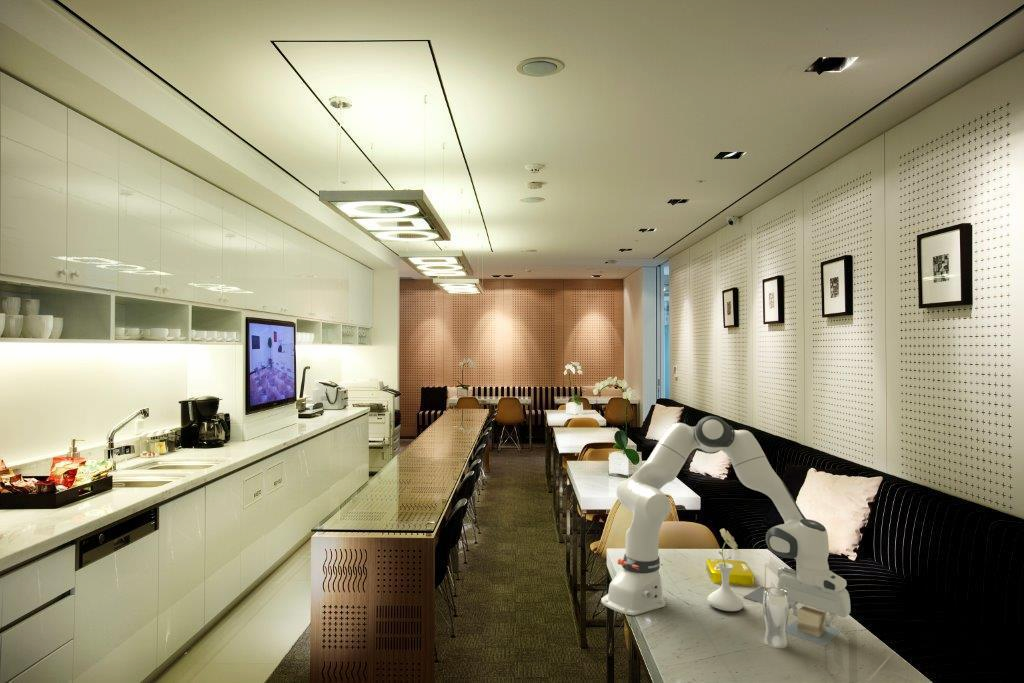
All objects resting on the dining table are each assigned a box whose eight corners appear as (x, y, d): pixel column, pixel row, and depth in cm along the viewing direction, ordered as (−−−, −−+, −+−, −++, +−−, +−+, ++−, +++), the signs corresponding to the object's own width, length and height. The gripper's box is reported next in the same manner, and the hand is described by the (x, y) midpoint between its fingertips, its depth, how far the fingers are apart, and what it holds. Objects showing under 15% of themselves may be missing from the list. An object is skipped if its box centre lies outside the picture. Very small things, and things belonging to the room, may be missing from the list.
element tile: (755, 587, 208) (755, 574, 208) (712, 584, 210) (712, 571, 210) (745, 571, 223) (745, 559, 223) (705, 569, 225) (705, 556, 225)
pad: (784, 611, 188) (784, 610, 188) (743, 597, 198) (743, 596, 198) (802, 599, 197) (802, 599, 197) (761, 587, 207) (761, 586, 207)
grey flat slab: (824, 646, 166) (824, 645, 166) (781, 631, 175) (781, 630, 175) (841, 631, 175) (841, 630, 175) (800, 617, 184) (800, 616, 184)
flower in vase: (746, 616, 184) (747, 538, 184) (709, 612, 186) (710, 535, 187) (739, 599, 197) (739, 526, 197) (704, 596, 199) (705, 523, 199)
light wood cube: (818, 637, 170) (818, 617, 171) (797, 629, 175) (797, 610, 175) (826, 631, 174) (826, 611, 175) (805, 623, 179) (805, 604, 179)
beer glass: (766, 635, 172) (766, 584, 172) (791, 642, 168) (791, 591, 168) (759, 644, 167) (759, 592, 167) (785, 652, 162) (785, 598, 162)
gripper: (773, 567, 181) (773, 611, 181) (845, 588, 166) (844, 636, 165) (782, 562, 185) (781, 606, 185) (852, 582, 170) (852, 629, 170)
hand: (812, 620), depth 175 cm, fingers open, 8 cm apart
